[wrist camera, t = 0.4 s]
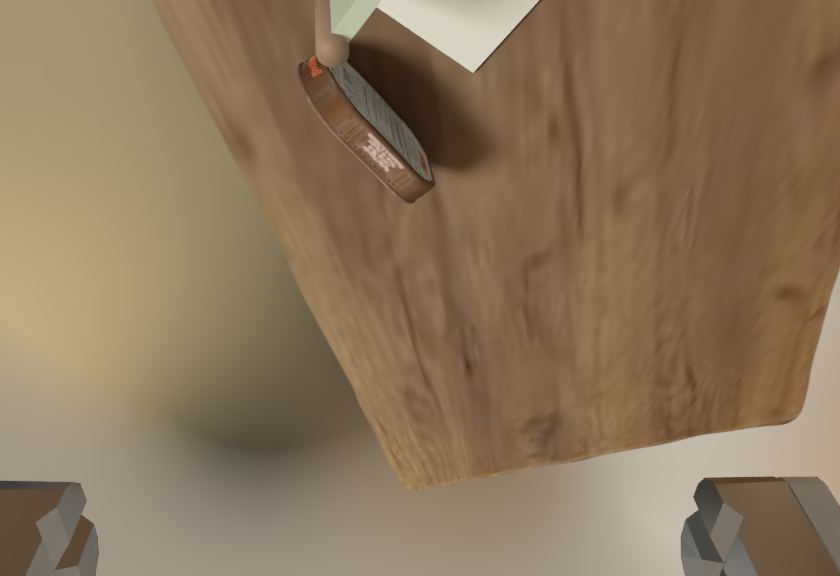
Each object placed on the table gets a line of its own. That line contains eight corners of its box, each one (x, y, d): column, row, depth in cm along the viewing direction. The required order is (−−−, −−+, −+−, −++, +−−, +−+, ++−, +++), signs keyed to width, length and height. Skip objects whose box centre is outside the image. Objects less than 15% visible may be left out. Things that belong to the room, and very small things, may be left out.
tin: (294, 45, 60) (293, 107, 54) (325, 22, 59) (327, 83, 53) (406, 162, 70) (415, 225, 64) (434, 144, 68) (446, 206, 63)
